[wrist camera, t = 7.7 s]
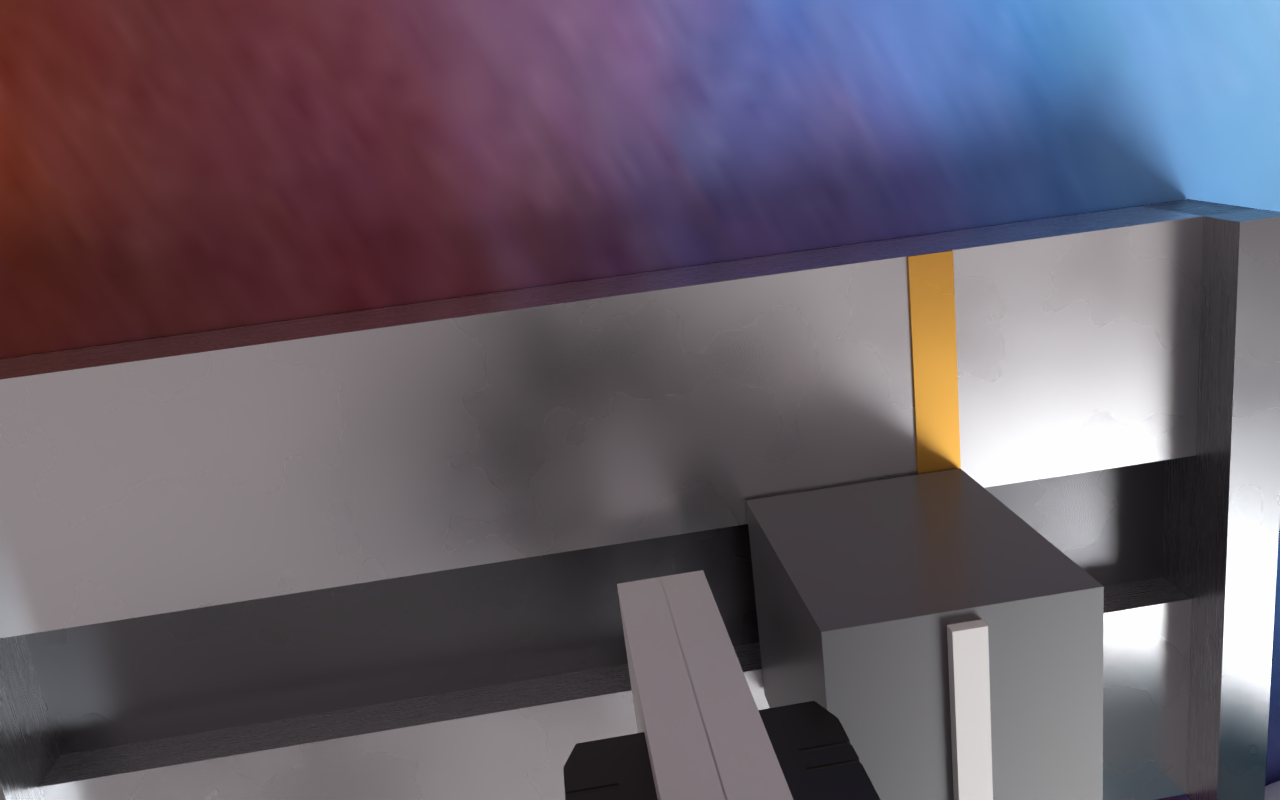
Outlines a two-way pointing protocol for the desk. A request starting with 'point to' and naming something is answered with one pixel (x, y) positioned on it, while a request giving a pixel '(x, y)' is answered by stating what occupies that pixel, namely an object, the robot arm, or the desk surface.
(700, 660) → the robot arm
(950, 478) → the block
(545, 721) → the console
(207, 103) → the desk surface
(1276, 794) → the pill bottle
